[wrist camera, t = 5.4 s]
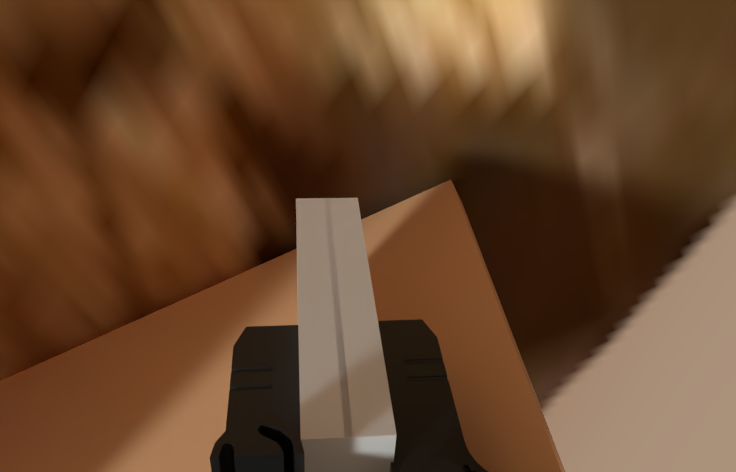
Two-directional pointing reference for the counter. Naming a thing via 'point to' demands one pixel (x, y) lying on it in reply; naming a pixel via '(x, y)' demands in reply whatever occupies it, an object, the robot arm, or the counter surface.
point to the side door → (273, 308)
